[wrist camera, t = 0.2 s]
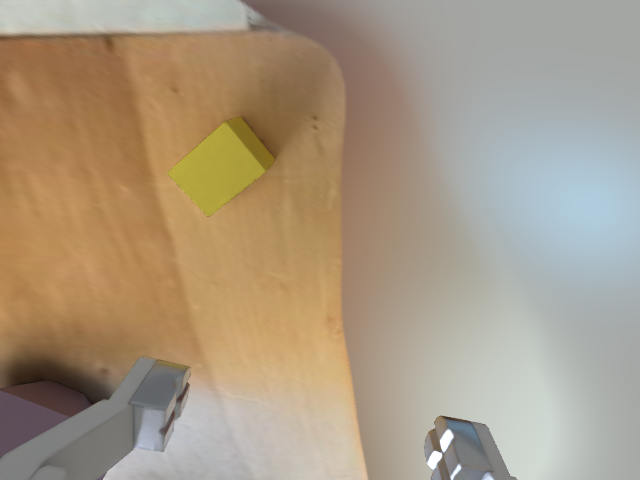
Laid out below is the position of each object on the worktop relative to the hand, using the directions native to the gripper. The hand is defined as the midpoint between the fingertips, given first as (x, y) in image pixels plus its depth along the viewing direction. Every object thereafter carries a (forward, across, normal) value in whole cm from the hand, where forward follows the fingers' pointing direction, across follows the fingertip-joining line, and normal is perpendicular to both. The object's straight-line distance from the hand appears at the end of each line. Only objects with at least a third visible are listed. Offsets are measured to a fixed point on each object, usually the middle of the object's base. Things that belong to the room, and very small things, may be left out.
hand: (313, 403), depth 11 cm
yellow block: (+16, +7, -3) cm, 18 cm away
